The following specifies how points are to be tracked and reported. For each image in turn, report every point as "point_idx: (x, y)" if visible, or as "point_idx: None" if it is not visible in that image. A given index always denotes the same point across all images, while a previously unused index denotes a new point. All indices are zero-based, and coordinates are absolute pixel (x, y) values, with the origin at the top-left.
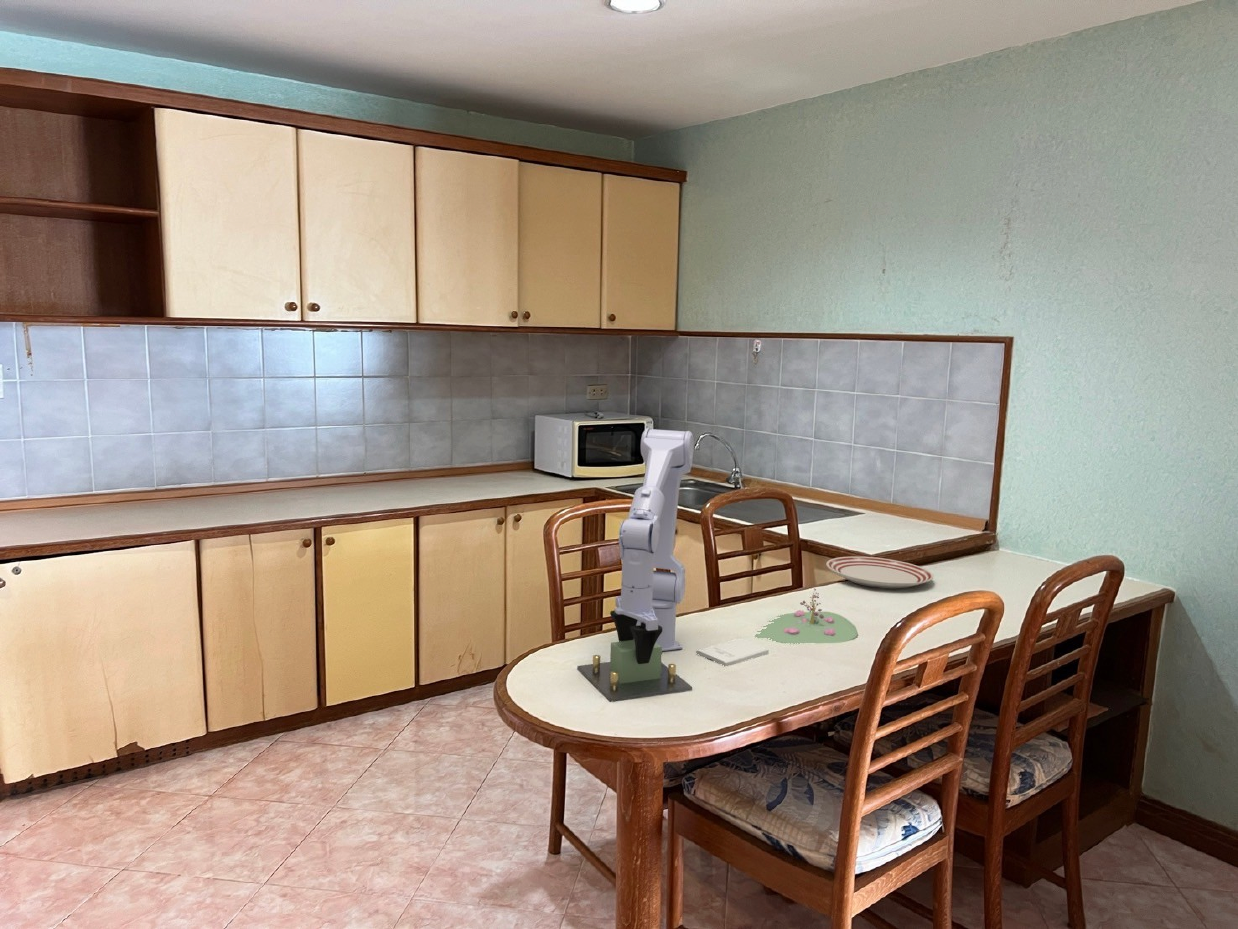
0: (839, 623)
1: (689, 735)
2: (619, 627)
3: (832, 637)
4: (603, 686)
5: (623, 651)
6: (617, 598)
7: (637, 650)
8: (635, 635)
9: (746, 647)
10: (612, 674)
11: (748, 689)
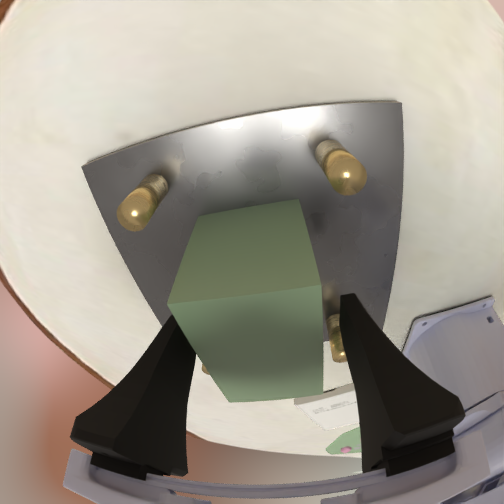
0: (361, 450)
1: (10, 284)
2: (371, 376)
3: (337, 448)
4: (174, 153)
5: (171, 311)
6: (464, 489)
7: (141, 357)
8: (92, 414)
9: (340, 421)
10: (120, 205)
11: (193, 397)
